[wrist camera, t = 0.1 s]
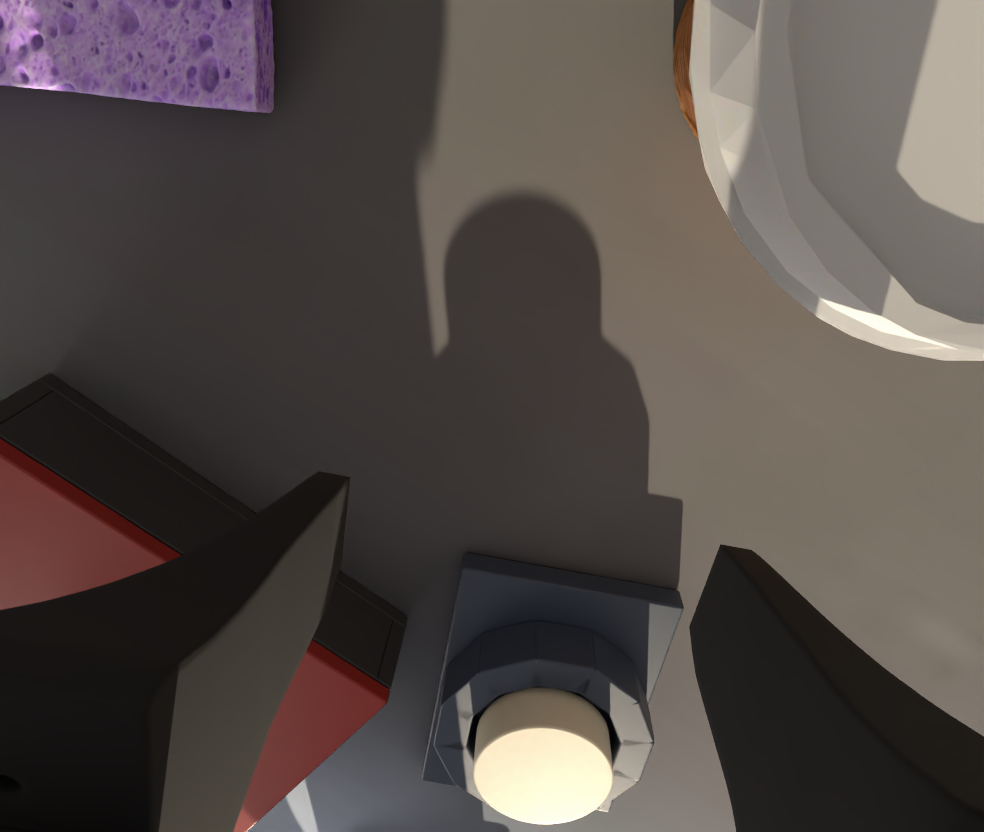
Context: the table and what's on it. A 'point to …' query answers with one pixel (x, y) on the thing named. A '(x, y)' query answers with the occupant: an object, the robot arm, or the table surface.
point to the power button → (543, 756)
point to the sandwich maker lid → (129, 550)
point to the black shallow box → (176, 506)
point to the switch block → (550, 658)
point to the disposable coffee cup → (850, 156)
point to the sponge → (143, 50)
